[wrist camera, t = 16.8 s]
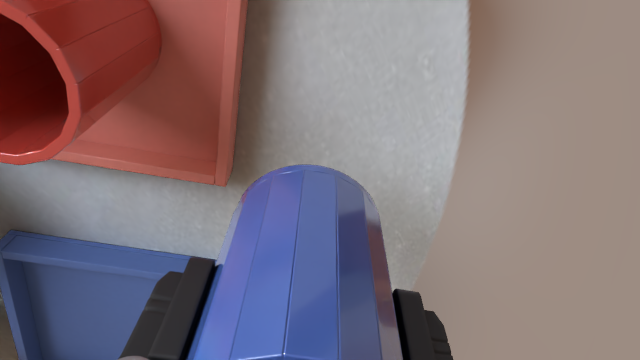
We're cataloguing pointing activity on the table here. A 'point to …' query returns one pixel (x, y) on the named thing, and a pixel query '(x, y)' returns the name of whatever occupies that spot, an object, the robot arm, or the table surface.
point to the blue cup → (300, 275)
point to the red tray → (178, 100)
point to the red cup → (68, 69)
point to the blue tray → (76, 294)
